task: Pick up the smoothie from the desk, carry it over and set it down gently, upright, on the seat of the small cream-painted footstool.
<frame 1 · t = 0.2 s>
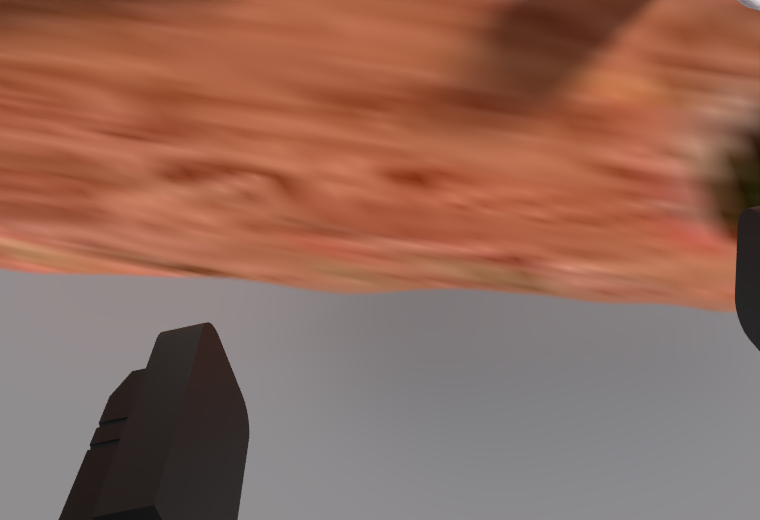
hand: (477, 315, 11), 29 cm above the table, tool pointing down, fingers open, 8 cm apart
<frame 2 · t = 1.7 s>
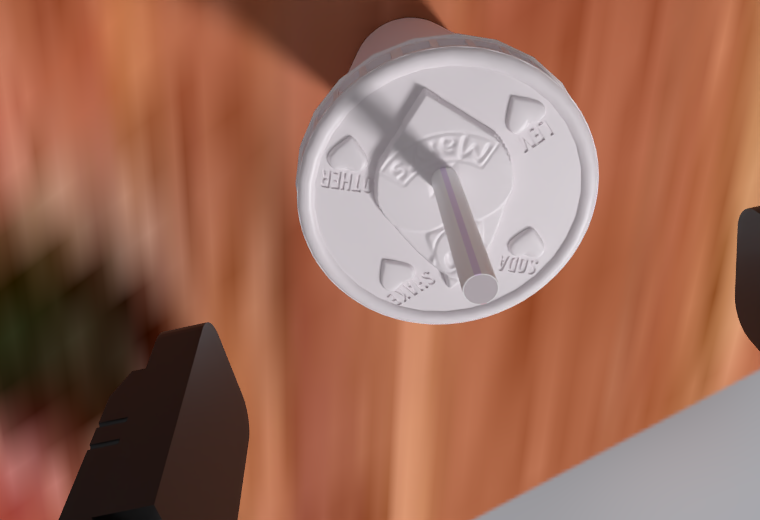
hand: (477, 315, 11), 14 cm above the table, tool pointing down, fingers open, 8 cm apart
smoothie: (408, 75, 23), on the table
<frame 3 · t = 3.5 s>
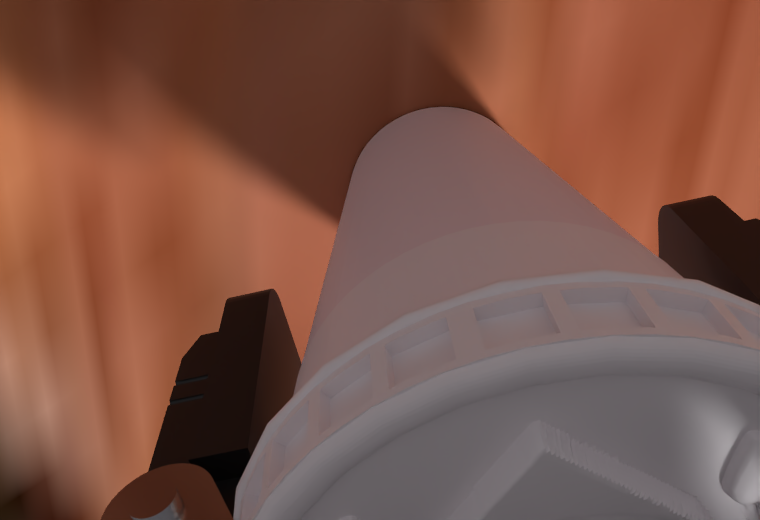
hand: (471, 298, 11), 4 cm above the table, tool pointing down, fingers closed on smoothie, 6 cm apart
smoothie: (436, 189, 15), on the table, touching gripper
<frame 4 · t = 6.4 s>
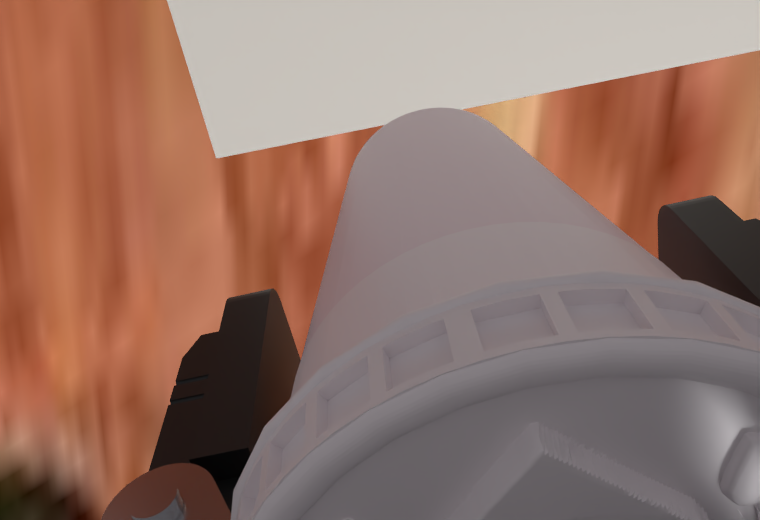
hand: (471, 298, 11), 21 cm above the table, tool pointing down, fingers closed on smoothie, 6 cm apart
smoothie: (434, 190, 15), point 17 cm above the table, touching gripper
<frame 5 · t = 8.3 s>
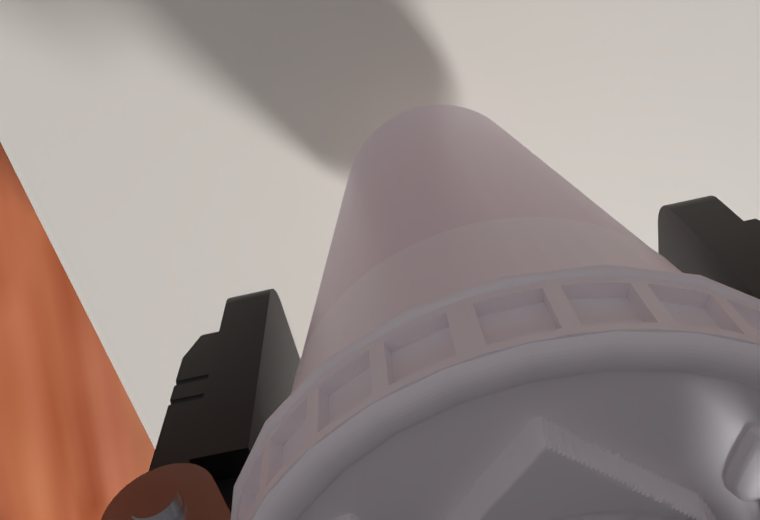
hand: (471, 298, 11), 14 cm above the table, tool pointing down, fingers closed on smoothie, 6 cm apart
smoothie: (434, 187, 15), point 9 cm above the table, touching gripper
footstool: (399, 75, 23), on the table
when the fingers open (13 cm above the table, at t = 9.5 s): smoothie stays where it is, resting on footstool.
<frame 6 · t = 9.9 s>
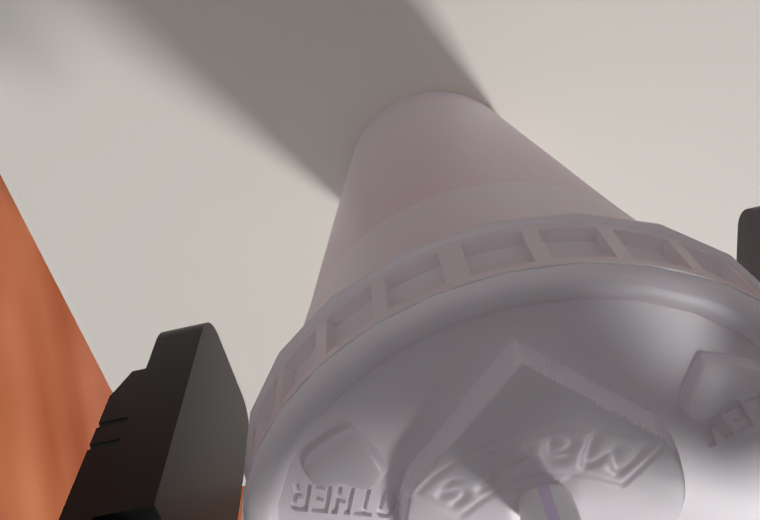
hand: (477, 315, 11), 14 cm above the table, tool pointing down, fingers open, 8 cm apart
smoothie: (432, 170, 16), point 8 cm above the table, touching footstool
footstool: (401, 78, 23), on the table
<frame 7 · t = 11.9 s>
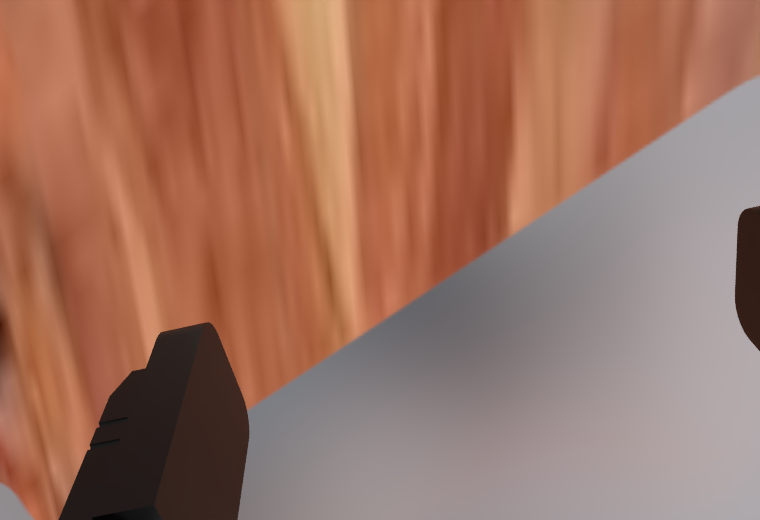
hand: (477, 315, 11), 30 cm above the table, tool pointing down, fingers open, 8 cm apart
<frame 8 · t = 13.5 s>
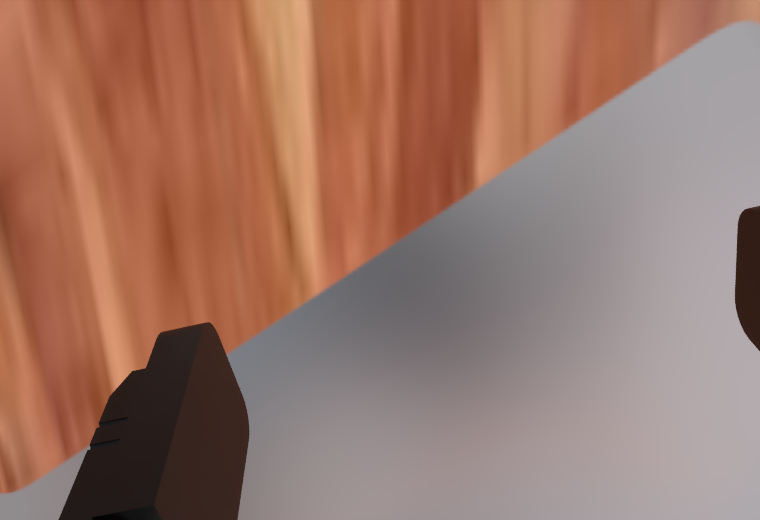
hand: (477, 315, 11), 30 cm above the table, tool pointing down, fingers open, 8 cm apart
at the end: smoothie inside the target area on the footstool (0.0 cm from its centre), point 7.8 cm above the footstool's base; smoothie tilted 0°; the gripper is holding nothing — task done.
